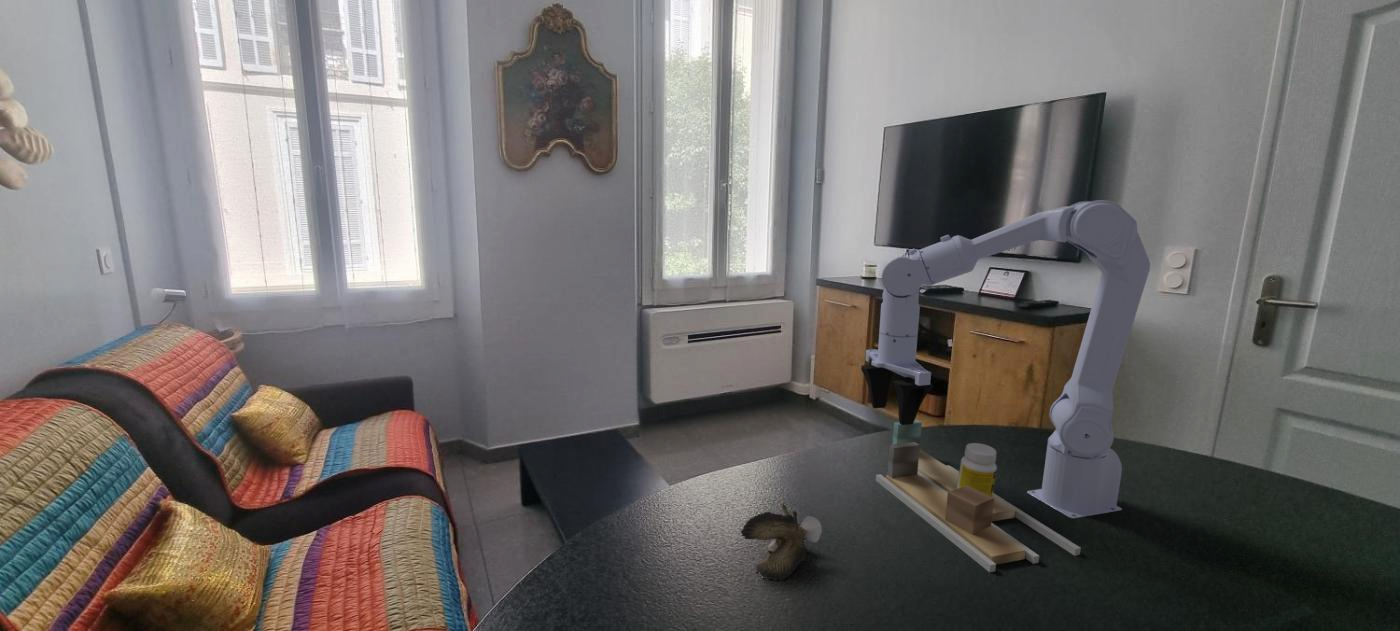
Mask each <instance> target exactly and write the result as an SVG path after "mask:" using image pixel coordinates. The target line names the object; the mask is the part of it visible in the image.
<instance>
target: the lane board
mask: <svg viewBox="0 0 1400 631" xmlns="http://www.w3.org/2000/svg"><path fill="white" fill-rule="evenodd" d="M946 466H947V467H949V468H950V469H952V470H953V471H955V472H957V473H958V474H959V471H960V470H957V469H956V468H954V467H953V466H951V465H946ZM917 474H918V475H919V476H921V477H922V478H924V479H925V480H927V481H928V482H929V483H931V484H932V485H934V486H935V487H937V488H938V489H939V490H941V491H942V492H944V493H945V494H946V495H948V492H947V491H946V490H944V489H943V488H941V487H940V486H938V485H937V484H935V483H934V482H933V481H931V480H930V479H928V478H927V477H925V476H924V475H922V474H921V473H920V472H918V473H917ZM875 482H877V483H878V484H880V485H881V486H882V487H883V488H885V489H886V490H887V491H888V492H889V493H891V495H893V496H894V497H896V498H897V499H898V500H900V502H902V503H903V504H904V505H906V506H907V507H908V508H909V509H911V510H912V511H913V512H914V513H915V514H917V515H918V516H919V517H920V518H922V519H923V520H924V521H925V522H926V523H928V524H929V525H930V526H931V527H933V528H934V529H935V530H937V532H939V533H940V534H942V535H943V536H944V537H945V538H946V539H948V540H949V541H950V542H951V543H953V545H955V546H956V547H958V548H959V549H960V550H961V551H962V552H963V553H965V554H966V555H967V556H968V557H970V558H971V559H973V561H975V562H977V564H979V565H980V566H982V568H983V569H985V570H986V571H987V572H988V573H994V572H996V569H997V568H996V567H997V564H995V563H994V562H993V561H991V560H990V559H989V558H988V557H986V556H985V555H984V554H982V553H981V552H980V551H979V550H977V549H976V548H975V547H973V546H972V545H971V544H970V543H968V542H967V541H966V540H964V539H963V538H962V537H961V536H959V535H958V534H957V533H955V532H954V531H953V530H952V529H950V528H949V527H948V526H946V525H945V524H944V523H943V522H941V521H940V520H939V519H938V518H936V517H935V516H934V515H932V514H931V513H930V512H929V511H927V510H926V509H925V508H923V507H922V506H921V505H920V504H918V503H917V502H916V501H914V500H913V499H912V498H911V497H909V496H908V495H907V494H905V493H904V492H903V491H902V490H900V489H899V488H898V487H896V486H895V485H894V484H893V483H891V482H890V481H889V480H887V479H886V476H884V475H882V474H881V473H879V474H876V475H875ZM993 496H994V497H996V498H998V499H999V500H1001V501H1002V502H1004V503H1005V504H1007V505H1009V506H1010V507H1012V508H1013V509H1015V516H1014V518H1016V519H1017V520H1019V521H1020V522H1022V523H1023V524H1025V525H1027V526H1028V527H1029V528H1031V529H1032V530H1034V531H1036V532H1037V533H1039V534H1040V535H1042V536H1043V537H1045V538H1047V539H1048V540H1049V541H1052V542H1053V543H1054V544H1056V545H1057V546H1059V547H1060V548H1062V549H1064V550H1065V551H1067V552H1068V553H1070V554H1071V555H1073V556H1074V557H1075V556H1080V555H1081V547H1080V546H1079V545H1077V544H1075V543H1073V542H1072V541H1071V540H1069V539H1068V538H1066V537H1064V536H1063V535H1061V534H1059V533H1058V532H1056V531H1054V530H1053V529H1051V528H1050V527H1048V526H1047V525H1045V524H1043V522H1040V521H1039V520H1037V519H1036V518H1034V517H1032V516H1031V515H1029V514H1028V513H1026V512H1025V511H1023V510H1021V509H1020V508H1018V507H1016V506H1015V505H1013V504H1012V503H1010V502H1008V501H1007V500H1005V499H1004V498H1002V497H1001V496H999V495H998V494H996V493H994V492H993ZM991 526H992V527H993V528H995V529H996V530H998V531H999V532H1001V533H1002V534H1003V535H1005V536H1006V537H1008V538H1009V539H1010V540H1012V541H1013V542H1015V543H1016V544H1018V545H1019V546H1020V547H1022V548H1023V549H1025V550H1026V552H1025V560H1027V561H1028V562H1030V563H1032V565H1034V564H1038V563H1039V561H1040V554H1037V553H1036V552H1035V551H1033V550H1032V549H1031V548H1029V547H1028V546H1026V545H1025V544H1023V543H1022V542H1020V541H1019V540H1017V539H1016V538H1015V537H1013V536H1012V535H1010V534H1009V533H1007V532H1006V531H1004V530H1003V529H1002V528H1000V527H999V526H998V525H996V524H995V523H993V522H992V523H991Z"/></svg>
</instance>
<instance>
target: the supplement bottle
mask: <svg viewBox="0 0 1400 631" xmlns="http://www.w3.org/2000/svg"><path fill="white" fill-rule="evenodd" d="M996 460H997V451H996V449H995V448H993V447H992V446H990V445H987V444H983V443H979V442H978V443H976V442H975V443H974V442H972V443H968V444H966V445H965V450H964V456H962V457H961V460H960V464H959V470H958V471H959V477H958V484H957V489H958V488H961V487H964V486H966V485H967V486H969V487H971V488H973V489H976V490H978V491H980V492H982V493H984V494H986V495H989V496H991V497H992V495H993V493H994V489H995V483H996V477H997V472H998V471H997V470H998V467H997V464H996Z"/></svg>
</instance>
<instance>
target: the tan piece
mask: <svg viewBox="0 0 1400 631" xmlns="http://www.w3.org/2000/svg"><path fill="white" fill-rule="evenodd" d="M922 424H923V423H922V421H920V420H918V419H915V420H914V423H913V424H909V425H901V424H900V422H899V421H894V423H893V432H892V444H891V445H893V444H901V443H910V442H916V443H918V444H919V445H920V446H921V435H922V434H921V432H922ZM918 472H920V473H921V474H922V475H924V476H925V477H927V478H928V479H930V480H931V481H933V482H934V483H935V484H937V485H938V486H940V487H941V488H943V489H944V490H946V491H947V492H950V491H953V490H956V489H957V484H958V477H959V474H958V473H957V472H955V471H953V470H952V469H950V468H949V467H947V465H946V464H944V463H942V462H941V461H939V460H937V459H936V458H934V457H933V456H931V455H930V454H928V452H927V453H926V452H925V451H924V450H922V449H920V450H919V461H918ZM992 497H993V498H994V505H993V514H992V522H995V521H996V522H998V521H1002V520H1008V519H1014V518H1015V517H1014V516H1015V509H1013V508H1012V507H1010V506H1009V505H1007V504H1005V503H1004V502H1002V501H1001V500H999V499H998V498H996V497H994V496H993V495H992Z"/></svg>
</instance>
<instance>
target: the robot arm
mask: <svg viewBox="0 0 1400 631" xmlns="http://www.w3.org/2000/svg"><path fill="white" fill-rule="evenodd" d="M1038 241H1045V242H1046V241H1047V242H1057V243H1058V242H1059V243H1066V242H1067V243H1069V244H1070V245H1072V246H1074V247H1075V248H1077V249H1080V250H1081V251H1083V252H1084V253H1085V254H1086V255H1087V257H1088V258H1089V259H1090V260H1091V261H1092V263H1093V264H1095V266H1096V267H1097V268H1098V269H1099V271H1100V273H1101V274H1100V277H1099V280H1098V284H1097V288H1096V292H1095V294H1094V298H1093V302H1092V306H1091V309H1090V313H1089V315H1088V320H1087V323H1086V326H1085V329H1084V333H1083V336H1082V341H1081V343H1080V346H1079V350H1078V353H1077V356H1076V361H1075V364H1074V368H1073V371H1072V375H1071V377H1070V378H1069V379H1068V381H1067V382H1066V383H1065V384H1064V387H1063V390H1062V393H1061V395H1060V396H1059V397H1058V398H1057V399H1056V400H1055V401H1054V402H1053V403H1052V405H1051V406H1050V409H1049V419H1050V422H1051V424H1052V425H1053V426H1054V427H1055V430H1054V431H1053V433H1052V434H1051V435H1050V436H1049V437H1048V438H1047V446H1046V453H1045V460H1044V463H1045V464H1044V469H1043V477H1042V484H1041V488H1039V489H1032V490H1027V492H1026V493H1027V494H1029V495H1031V496H1032V497H1034V498H1036V499H1037V500H1039V501H1041V502H1043V503H1045V504H1046V505H1048V506H1049V507H1051V508H1053V509H1054V510H1056V511H1058V512H1060V513H1061V514H1063V515H1065V516H1067V517H1068V518H1070V519H1077V518H1083V517H1089V516H1094V515H1095V516H1096V515H1100V514H1106V513H1111V512H1117V511H1122V510H1123V508H1121V507H1120V506H1118V498H1119V493H1120V492H1119V491H1120V485H1121V479H1122V478H1121V477H1122V473H1123V466H1122V462H1121V460H1120V457H1119V455H1118V454H1117V453H1116V451H1114V450H1113V449H1112V448H1111V446H1112V445H1113V442H1114V439H1115V435H1114V434H1115V433H1114V430H1113V425H1112V419H1113V415H1114V400H1113V399H1114V398H1113V389H1114V387H1115V383H1116V379H1117V378H1118V377H1117V376H1118V374H1119V371H1120V367H1121V365H1122V360H1123V357H1124V354H1125V351H1126V348H1127V344H1128V341H1129V337H1130V335H1131V332H1132V328H1133V325H1134V322H1135V318H1136V315H1137V312H1138V309H1139V305H1140V301H1141V299H1142V296H1143V292H1144V289H1145V287H1146V283H1147V279H1148V277H1149V274H1150V270H1151V262H1150V259H1149V257H1148V254H1147V251H1146V249H1145V247H1144V244H1143V241H1142V239H1141V237H1140V233H1139V231H1138V222H1137V220H1136V219H1135V218H1134V217H1133V216H1132V215H1131V214H1130V213H1128V212H1127V211H1126V210H1125V209H1124V207H1123V206H1121V205H1119V203H1116V202H1114V201H1111V200H1103V199H1100V200H1099V199H1098V200H1092V201H1091V200H1085V201H1078V202H1076V203H1074V204H1071V205H1070V206H1061V207H1057V208H1053V209H1048V210H1045V211H1040V212H1037V213H1034V214H1032V215H1029V216H1028V217H1025V218H1021V219H1020V220H1017V221H1015V222H1012V223H1009V224H1007V225H1005V226H1002V227H1000V228H997V229H995V230H992V231H990V232H987V233H985V234H982V235H979V236H977V237H975V238H973V239H969V238H966V237H964V236H962V235H960V234H959V235H958V234H957V235H954V236H952V237H951V236H950V235H949V234H946V235H944V236H941V237H940V241H939V242H936V243H934V244H931V245H928V246H925V247H923V248H921V249H918V250H917V249H916V248H912V249H909V250H908V255H909V256H905V255H904V256H903V255H902V256H898V257H895V258H893V259H892V260H890V261H889V262H888V263H887V264H886V265H885V266H884V269H883V270H882V273H881V282H882V285H883V287H884V289H883V292H882V295H881V297H882V303H881V305H880V319H879V329H878V330H879V331H878V332H879V333H878V346H877V348H878V349H876V348H874V349H866V350H865V361H866V362H868V364H863V365H861V367H860V369H861V373H862V374H863V376H864V378H865V381H866V383H867V386H868V390H869V391H868V392H869V397H870V402H871V406H872V408H873V409H883V408H884V409H885V408H886V406H887V403H888V397H889V390H890V386H891V382H892V380H893V376H894V374H897V375H899V376H901V377H904V378H905V379H900V380H899V379H897V380H893V385H894V388H895V392H896V396H897V402H898V422H900V424H901V425H909V424H913V423H914V420H916V417H917V414H918V412H919V409H920V407H921V405H922V403H923V401H924V399H925V398H926V397H927V395H928V394H929V392H930V391H931V390H932V389H933V383H932V382H931V379H932V377H931V376H932V372H931V371H930V370H929V371H928V370H927V369H925V368H924V367H923V366H922V365H921V364H919V362H917V361H916V360H917V347H918V346H917V345H918V337H919V336H918V333H919V322H920V321H919V320H920V311H921V310H920V308H921V306H920V304H919V299H920V298H919V297H920V288H921V286H923V285H925V286H929V287H931V286H933V285H936V284H938V283H939V284H940V283H943V282H945V281H947V280H950V279H954V278H956V277H959V276H962V275H965V274H969V273H970V272H973V270H974V269H975V267H976V265H977V263H978V261H979V260H981V259H984V258H987V257H989V256H992V255H997V254H1000V253H1003V252H1007V251H1009V250H1012V249H1015V248H1018V247H1020V246H1024V245H1028V244H1031V243H1033V242H1034V243H1035V242H1038Z"/></svg>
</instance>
